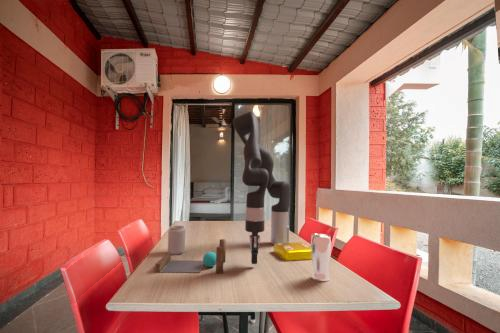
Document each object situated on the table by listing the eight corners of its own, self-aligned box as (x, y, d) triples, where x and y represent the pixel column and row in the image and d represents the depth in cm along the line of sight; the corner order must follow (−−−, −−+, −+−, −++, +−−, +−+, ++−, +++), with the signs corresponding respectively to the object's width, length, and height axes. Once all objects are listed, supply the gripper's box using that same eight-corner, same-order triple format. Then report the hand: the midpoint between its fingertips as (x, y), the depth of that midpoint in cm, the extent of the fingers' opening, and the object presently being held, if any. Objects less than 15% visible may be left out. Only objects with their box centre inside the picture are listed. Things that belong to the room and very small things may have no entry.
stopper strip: (170, 260, 113) (170, 253, 113) (159, 272, 99) (160, 264, 99) (166, 260, 113) (166, 253, 113) (155, 272, 99) (155, 264, 99)
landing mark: (205, 261, 113) (205, 260, 113) (200, 272, 99) (200, 272, 99) (171, 260, 113) (171, 260, 113) (161, 272, 99) (161, 271, 99)
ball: (220, 259, 109) (214, 247, 109) (218, 265, 104) (212, 252, 103) (208, 265, 109) (202, 253, 109) (205, 271, 104) (199, 258, 103)
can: (187, 251, 127) (188, 225, 127) (178, 255, 120) (179, 228, 120) (174, 250, 129) (174, 224, 130) (164, 254, 122) (165, 227, 123)
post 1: (225, 260, 114) (226, 239, 114) (225, 262, 111) (225, 240, 112) (219, 260, 114) (219, 239, 114) (218, 262, 111) (219, 240, 111)
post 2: (223, 271, 101) (223, 246, 102) (222, 273, 99) (223, 248, 99) (216, 271, 101) (216, 246, 101) (215, 273, 98) (216, 248, 99)
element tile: (316, 260, 119) (316, 248, 119) (284, 262, 115) (284, 250, 115) (301, 250, 134) (301, 241, 134) (272, 252, 130) (272, 242, 130)
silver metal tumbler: (319, 283, 91) (320, 238, 92) (306, 276, 97) (306, 234, 98) (335, 280, 94) (335, 236, 95) (321, 273, 101) (321, 232, 101)
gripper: (245, 216, 114) (244, 258, 113) (245, 221, 100) (244, 269, 100) (263, 216, 114) (262, 258, 113) (265, 221, 101) (265, 269, 100)
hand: (254, 263), depth 106 cm, fingers closed
